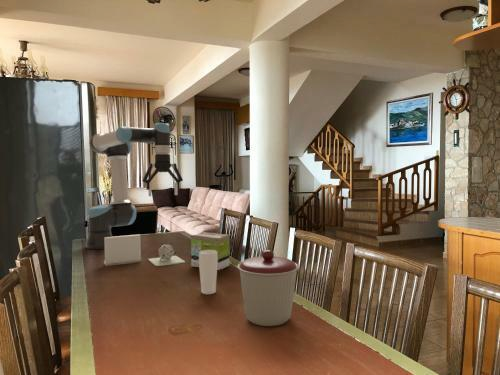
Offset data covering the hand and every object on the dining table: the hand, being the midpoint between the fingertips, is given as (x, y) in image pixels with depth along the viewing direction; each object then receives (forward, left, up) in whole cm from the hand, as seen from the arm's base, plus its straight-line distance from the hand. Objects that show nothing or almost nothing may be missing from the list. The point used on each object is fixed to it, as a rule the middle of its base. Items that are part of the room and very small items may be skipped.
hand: (163, 195), depth 202 cm
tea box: (+33, +12, -31) cm, 47 cm away
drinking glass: (+67, -3, -31) cm, 74 cm away
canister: (+99, +3, -31) cm, 104 cm away
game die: (+14, -3, -30) cm, 34 cm away
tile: (+14, -3, -31) cm, 34 cm away
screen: (+6, -22, -31) cm, 38 cm away
